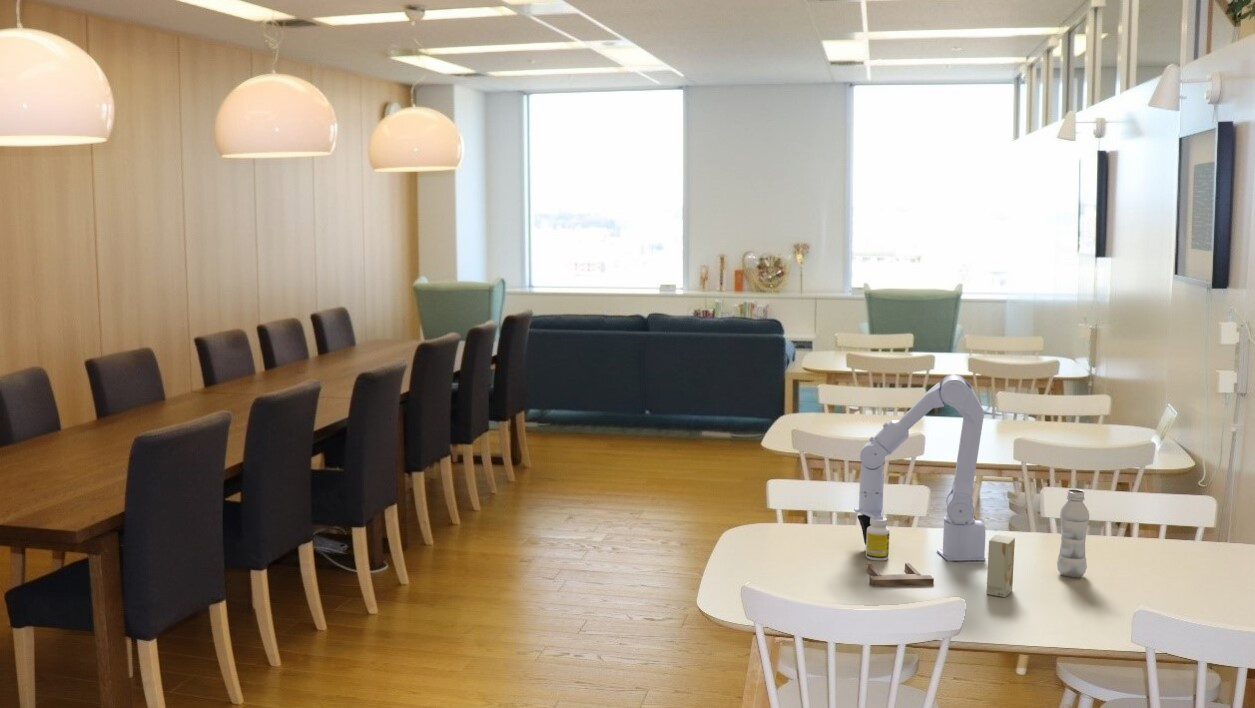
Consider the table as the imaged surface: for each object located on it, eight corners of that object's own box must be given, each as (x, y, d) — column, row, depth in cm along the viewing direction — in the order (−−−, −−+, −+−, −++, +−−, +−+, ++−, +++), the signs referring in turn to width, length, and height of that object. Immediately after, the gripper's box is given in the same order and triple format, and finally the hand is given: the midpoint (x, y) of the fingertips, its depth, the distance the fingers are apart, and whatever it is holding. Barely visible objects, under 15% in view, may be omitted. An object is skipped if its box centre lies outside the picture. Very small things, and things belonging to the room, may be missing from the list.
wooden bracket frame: (917, 569, 274) (917, 562, 274) (933, 585, 263) (933, 578, 263) (858, 570, 273) (858, 563, 273) (872, 586, 262) (872, 579, 262)
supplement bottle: (890, 561, 280) (892, 521, 278) (867, 561, 280) (869, 521, 278) (886, 554, 285) (887, 515, 284) (863, 554, 285) (865, 515, 284)
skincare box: (1005, 598, 254) (1008, 543, 253) (985, 594, 257) (988, 540, 255) (1013, 590, 260) (1015, 536, 258) (993, 586, 262) (996, 533, 260)
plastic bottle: (1087, 573, 271) (1092, 489, 269) (1085, 582, 265) (1090, 496, 263) (1057, 569, 274) (1062, 486, 271) (1055, 578, 268) (1059, 493, 265)
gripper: (847, 484, 294) (846, 536, 296) (863, 499, 280) (861, 553, 281) (875, 483, 294) (873, 536, 296) (892, 498, 280) (890, 553, 282)
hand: (869, 544), depth 289 cm, fingers closed
